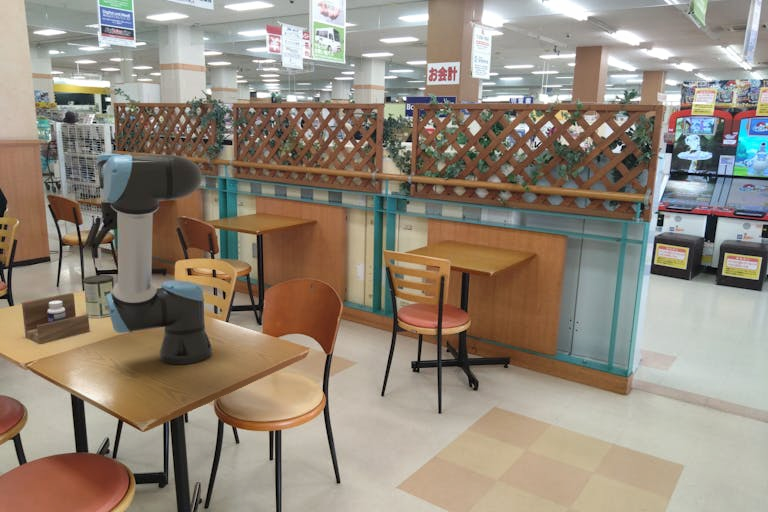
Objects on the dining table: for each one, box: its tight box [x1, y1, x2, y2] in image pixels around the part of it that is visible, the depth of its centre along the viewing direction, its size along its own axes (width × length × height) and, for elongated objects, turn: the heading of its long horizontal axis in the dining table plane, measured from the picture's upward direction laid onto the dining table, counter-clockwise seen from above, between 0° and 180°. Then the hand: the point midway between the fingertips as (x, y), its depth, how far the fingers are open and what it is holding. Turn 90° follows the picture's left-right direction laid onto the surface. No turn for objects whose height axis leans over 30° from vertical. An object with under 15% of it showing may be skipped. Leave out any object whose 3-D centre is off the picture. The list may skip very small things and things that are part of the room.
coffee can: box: [82, 274, 115, 319], centre depth 215 cm, size 10×10×14 cm
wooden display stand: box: [21, 292, 91, 345], centre depth 192 cm, size 11×16×12 cm, turn 144°
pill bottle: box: [47, 301, 66, 323], centre depth 192 cm, size 5×5×9 cm
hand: (118, 264), depth 191 cm, fingers open, 13 cm apart
